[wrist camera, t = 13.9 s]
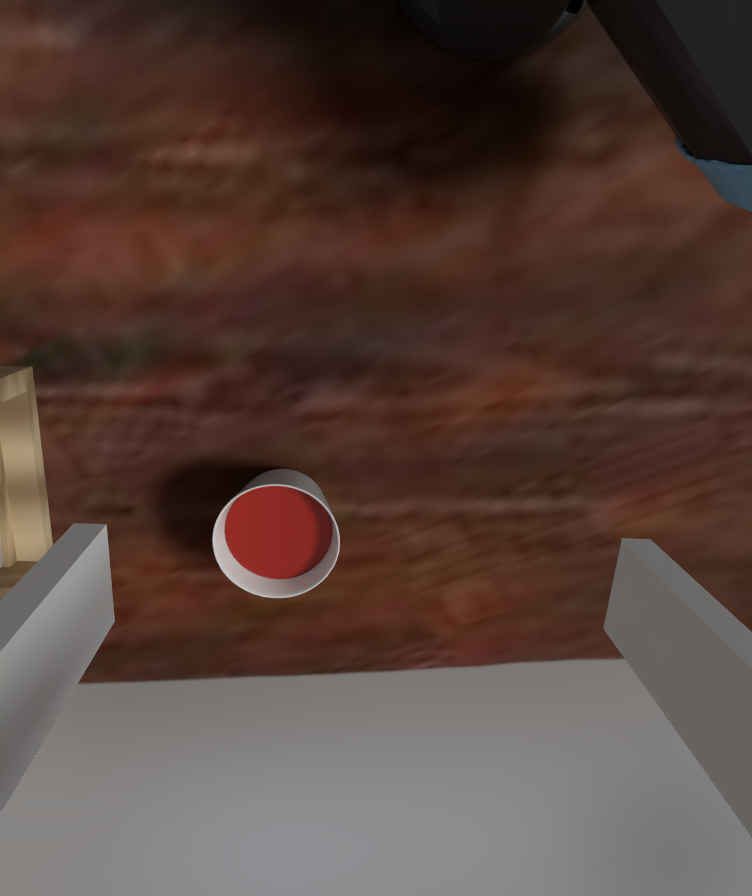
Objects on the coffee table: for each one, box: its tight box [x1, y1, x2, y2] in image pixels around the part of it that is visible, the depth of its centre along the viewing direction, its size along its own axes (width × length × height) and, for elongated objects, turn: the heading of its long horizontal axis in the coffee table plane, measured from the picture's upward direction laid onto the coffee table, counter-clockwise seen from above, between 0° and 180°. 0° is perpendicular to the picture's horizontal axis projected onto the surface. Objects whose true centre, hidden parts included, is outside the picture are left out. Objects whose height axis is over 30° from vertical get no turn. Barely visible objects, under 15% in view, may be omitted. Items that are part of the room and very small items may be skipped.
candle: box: [212, 469, 340, 598], centre depth 46 cm, size 9×9×6 cm
